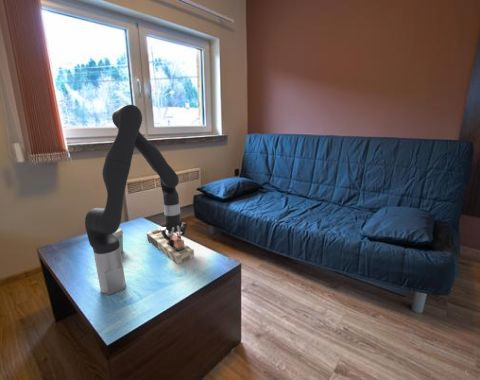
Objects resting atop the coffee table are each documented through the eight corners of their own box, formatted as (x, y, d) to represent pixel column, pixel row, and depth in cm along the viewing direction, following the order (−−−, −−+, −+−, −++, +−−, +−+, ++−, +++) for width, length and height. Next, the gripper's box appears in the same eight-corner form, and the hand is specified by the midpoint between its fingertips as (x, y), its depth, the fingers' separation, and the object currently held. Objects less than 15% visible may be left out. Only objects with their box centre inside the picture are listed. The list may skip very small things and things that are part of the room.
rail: (194, 257, 126) (193, 250, 125) (177, 264, 121) (176, 256, 120) (162, 234, 153) (161, 228, 152) (146, 239, 147) (146, 232, 146)
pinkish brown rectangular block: (185, 256, 128) (183, 240, 125) (178, 258, 125) (177, 242, 123) (173, 247, 136) (172, 233, 134) (167, 250, 134) (166, 234, 132)
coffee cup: (103, 253, 131) (100, 232, 128) (118, 246, 139) (115, 225, 136) (115, 257, 128) (111, 235, 124) (129, 250, 135) (126, 228, 132)
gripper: (161, 218, 118) (165, 252, 122) (189, 210, 127) (191, 242, 131) (155, 213, 124) (158, 246, 128) (181, 207, 132) (184, 238, 137)
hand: (175, 244), depth 130 cm, fingers closed on pinkish brown rectangular block, 3 cm apart
